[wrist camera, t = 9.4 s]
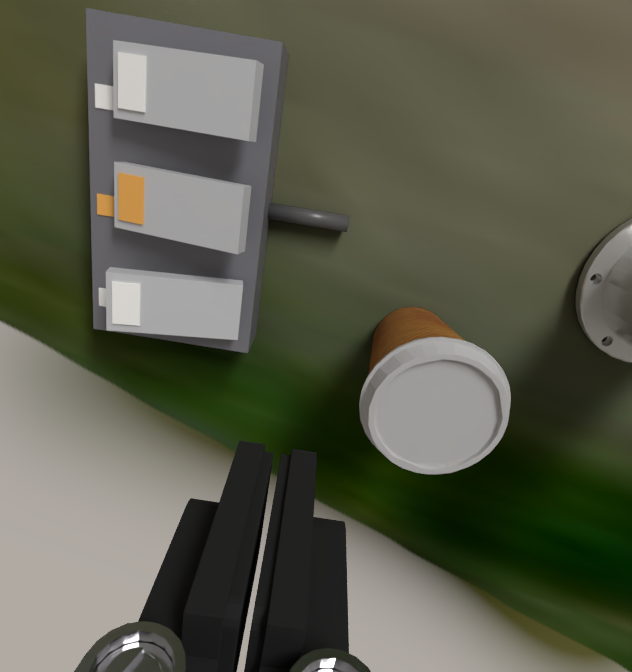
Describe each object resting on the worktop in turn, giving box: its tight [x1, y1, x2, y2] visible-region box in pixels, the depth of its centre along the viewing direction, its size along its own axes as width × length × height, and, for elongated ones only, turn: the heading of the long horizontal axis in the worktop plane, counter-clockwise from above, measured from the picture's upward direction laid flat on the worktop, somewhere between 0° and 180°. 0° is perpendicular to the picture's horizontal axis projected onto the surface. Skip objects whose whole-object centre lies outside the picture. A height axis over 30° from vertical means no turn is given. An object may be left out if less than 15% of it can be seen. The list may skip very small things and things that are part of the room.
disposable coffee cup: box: [359, 307, 511, 474], centre depth 34 cm, size 10×10×12 cm
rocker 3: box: [106, 267, 243, 340], centre depth 33 cm, size 9×4×1 cm, turn 82°
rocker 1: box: [113, 40, 264, 142], centre depth 28 cm, size 9×4×1 cm, turn 79°
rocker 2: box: [114, 162, 251, 254], centre depth 31 cm, size 9×4×1 cm, turn 79°
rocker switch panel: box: [86, 8, 349, 353], centre depth 34 cm, size 18×21×4 cm
